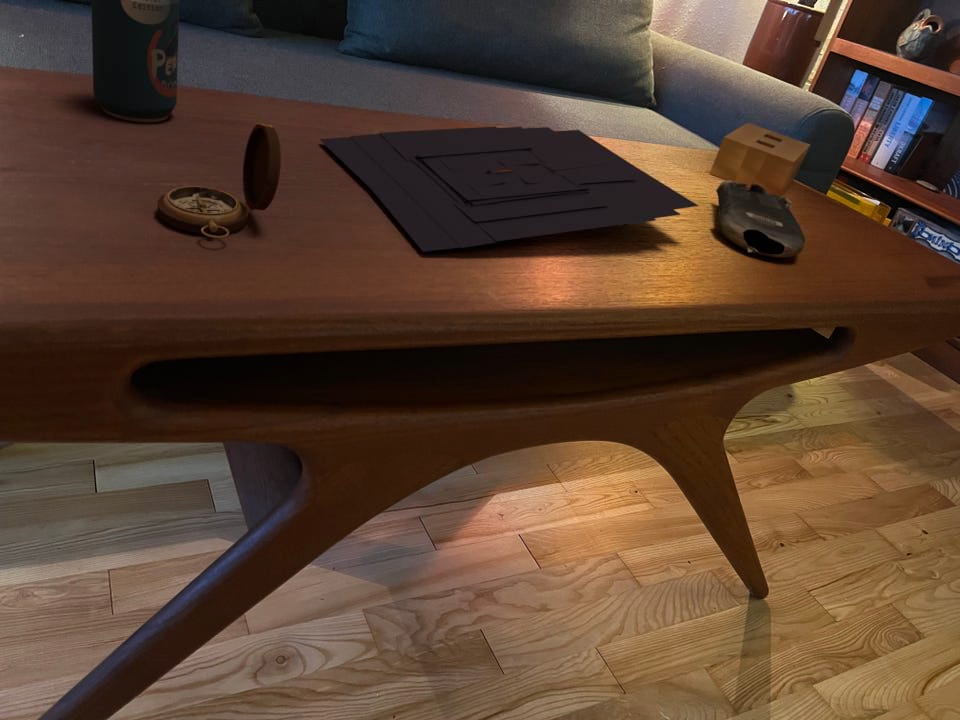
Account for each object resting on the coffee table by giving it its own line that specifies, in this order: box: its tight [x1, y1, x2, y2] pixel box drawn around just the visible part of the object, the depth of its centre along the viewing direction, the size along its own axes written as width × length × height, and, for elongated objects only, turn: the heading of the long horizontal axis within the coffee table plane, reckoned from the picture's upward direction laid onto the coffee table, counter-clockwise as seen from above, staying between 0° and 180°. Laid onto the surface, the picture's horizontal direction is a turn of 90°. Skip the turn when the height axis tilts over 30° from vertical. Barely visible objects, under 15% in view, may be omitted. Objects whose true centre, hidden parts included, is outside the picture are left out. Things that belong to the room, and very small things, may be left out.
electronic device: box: [715, 180, 806, 259], centre depth 84 cm, size 9×6×15 cm
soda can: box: [90, 0, 180, 123], centre depth 69 cm, size 7×7×12 cm
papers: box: [318, 126, 699, 253], centre depth 75 cm, size 24×30×4 cm
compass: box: [155, 122, 282, 239], centre depth 55 cm, size 8×8×7 cm
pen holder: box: [709, 122, 811, 197], centre depth 106 cm, size 9×15×5 cm, turn 151°
